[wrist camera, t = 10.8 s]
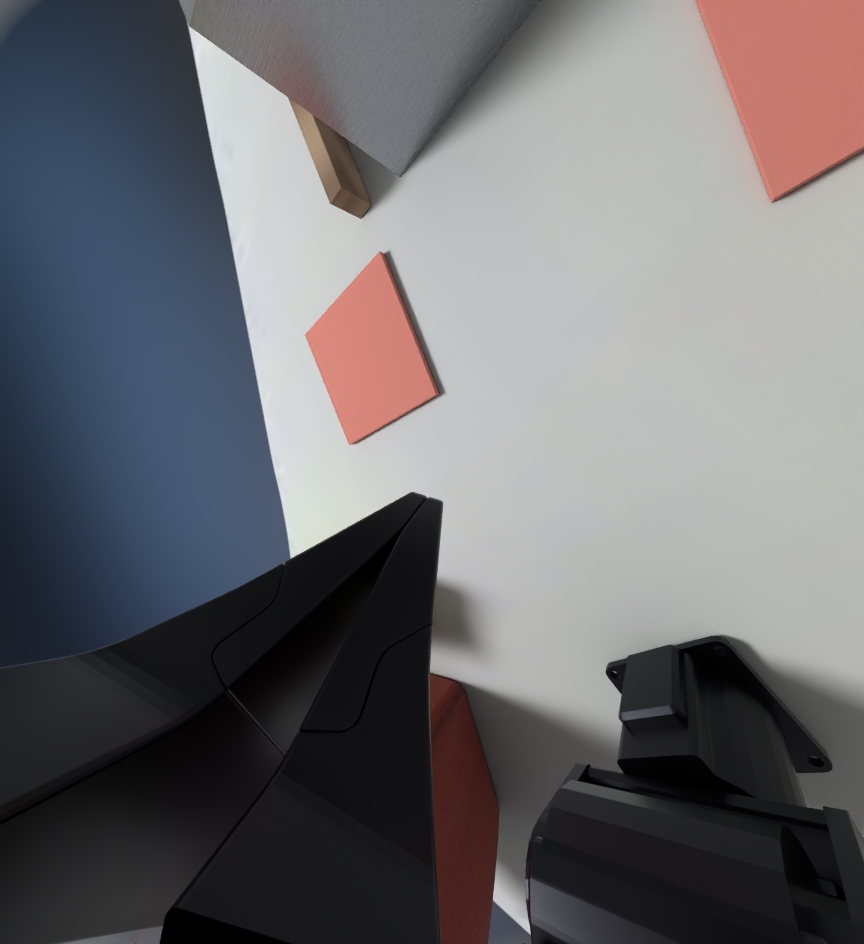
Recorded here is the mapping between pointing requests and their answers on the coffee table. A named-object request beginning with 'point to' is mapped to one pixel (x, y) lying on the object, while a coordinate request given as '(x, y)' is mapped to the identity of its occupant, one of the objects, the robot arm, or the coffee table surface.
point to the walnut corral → (333, 163)
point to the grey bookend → (366, 59)
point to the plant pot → (461, 818)
